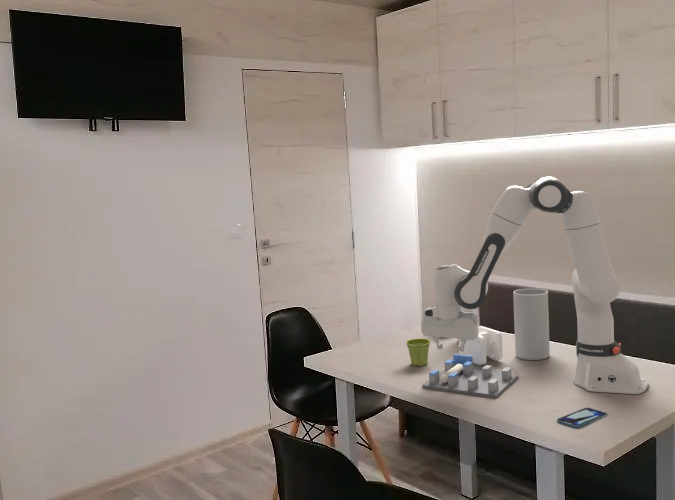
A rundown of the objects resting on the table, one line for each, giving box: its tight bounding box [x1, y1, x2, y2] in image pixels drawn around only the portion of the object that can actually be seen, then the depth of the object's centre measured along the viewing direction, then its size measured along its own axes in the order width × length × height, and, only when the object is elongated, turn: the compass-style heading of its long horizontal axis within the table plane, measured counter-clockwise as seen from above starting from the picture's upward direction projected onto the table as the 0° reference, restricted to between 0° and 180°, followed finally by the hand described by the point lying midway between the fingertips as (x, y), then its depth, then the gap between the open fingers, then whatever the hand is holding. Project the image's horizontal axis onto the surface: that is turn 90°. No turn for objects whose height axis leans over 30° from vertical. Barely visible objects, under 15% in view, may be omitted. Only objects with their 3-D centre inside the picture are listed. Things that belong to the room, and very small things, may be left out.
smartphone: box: [556, 407, 608, 429], centre depth 192 cm, size 7×1×15 cm
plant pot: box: [405, 338, 432, 367], centre depth 254 cm, size 9×9×9 cm
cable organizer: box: [458, 325, 503, 366], centre depth 252 cm, size 15×11×12 cm
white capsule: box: [440, 364, 463, 383], centre depth 232 cm, size 16×3×3 cm, turn 147°
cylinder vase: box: [512, 287, 550, 361], centre depth 253 cm, size 12×12×25 cm
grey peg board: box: [421, 353, 519, 399], centre depth 229 cm, size 26×22×6 cm
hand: (450, 349), depth 232 cm, fingers open, 7 cm apart
